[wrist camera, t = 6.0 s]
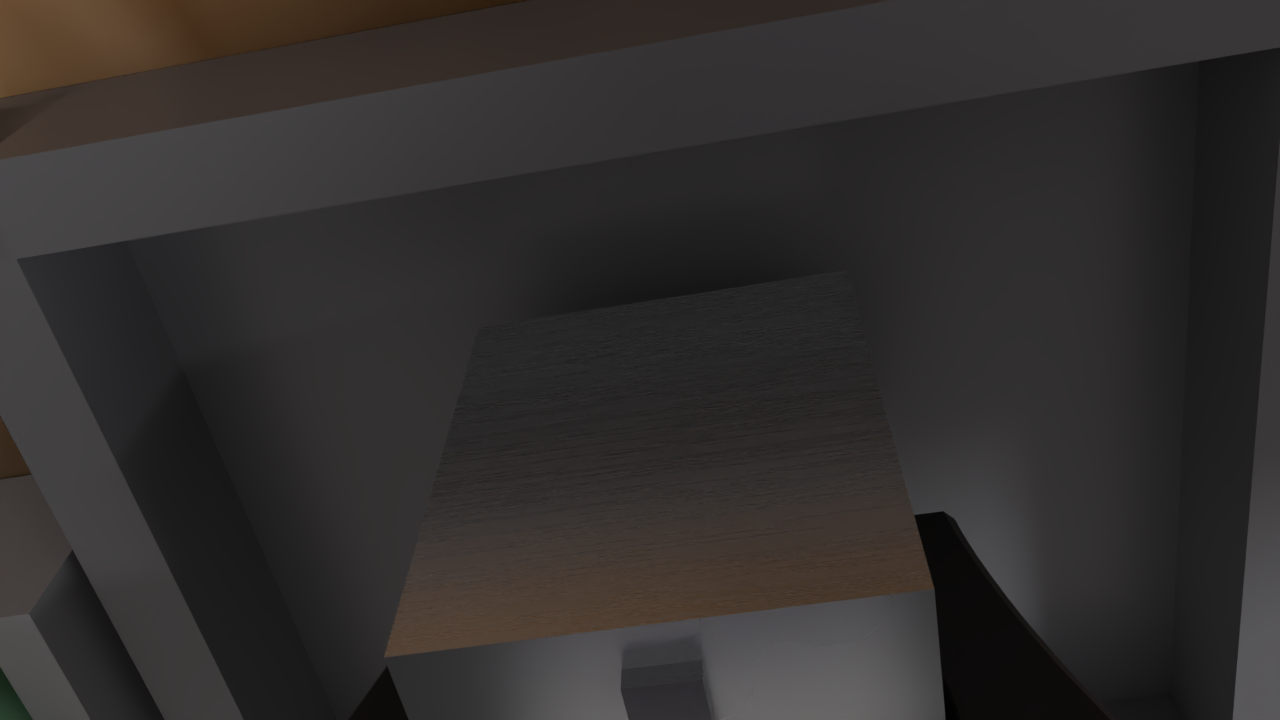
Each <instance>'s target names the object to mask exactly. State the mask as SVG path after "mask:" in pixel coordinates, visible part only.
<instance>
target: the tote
mask: <svg viewBox="0 0 1280 720" xmlns="http://www.w3.org/2000/svg"><path fill="white" fill-rule="evenodd" d="M844 270H846V271H847V274H848V278H849V281H850V285H851V289H852V292H853V296H854V299H855V303H856V307H857V310H858V314H859V318H860V321H861V325H862V328H863V332H864V336H865V339H866V343H867V347H868V350H869V354H870V357H871V361H872V365H873V368H874V372H875V376H876V379H877V383H878V386H879V390H880V394H881V397H882V401H883V405H884V408H885V412H886V415H887V419H888V423H889V426H890V430H891V433H892V437H893V441H894V444H895V448H896V452H897V455H898V459H899V462H900V466H901V470H902V473H903V477H904V481H905V484H906V488H907V491H908V495H909V499H910V502H911V506H912V510H913V513H914V515H917V514H925V513H933V512H941V511H944V512H945V513H947V514H948V515H950V516H951V517H953V518H954V519H955V520H956V522H957V524H958V526H959V528H960V529H961V531H962V533H963V534H964V536H965V538H966V539H967V541H968V542H969V544H970V546H971V547H972V549H973V550H974V552H975V553H976V555H977V556H978V558H979V559H980V561H981V562H982V563H983V565H984V566H985V568H986V569H987V571H988V572H989V573H990V575H991V576H992V577H993V579H994V580H995V581H996V583H997V584H998V585H999V587H1000V588H1001V589H1002V591H1003V592H1004V593H1005V595H1006V596H1007V597H1008V599H1009V600H1010V601H1011V602H1012V604H1013V605H1014V606H1015V608H1016V609H1017V610H1018V611H1019V613H1020V614H1021V615H1022V616H1023V617H1024V619H1025V620H1026V621H1027V622H1028V623H1029V625H1030V626H1031V627H1032V628H1033V629H1034V630H1035V632H1036V633H1037V634H1038V635H1039V636H1040V638H1041V639H1042V640H1043V641H1044V642H1045V643H1046V645H1047V646H1048V647H1049V648H1050V649H1051V651H1052V652H1053V653H1054V654H1055V655H1056V656H1057V658H1058V659H1059V660H1060V661H1061V662H1062V663H1063V664H1064V665H1065V666H1066V667H1067V669H1068V670H1069V671H1070V672H1071V673H1072V674H1073V675H1074V676H1075V677H1076V679H1077V680H1078V681H1079V682H1080V683H1081V684H1082V685H1083V686H1084V687H1085V688H1086V689H1087V690H1088V691H1089V692H1090V693H1091V694H1092V695H1093V696H1094V697H1095V698H1096V699H1097V700H1098V701H1099V702H1100V704H1101V705H1102V706H1103V707H1104V708H1105V709H1106V710H1107V711H1108V712H1109V713H1110V714H1111V715H1112V716H1113V717H1114V718H1115V719H1116V720H1280V0H528V1H523V2H517V3H512V4H507V5H501V6H496V7H491V8H485V9H480V10H474V11H469V12H464V13H458V14H453V15H447V16H442V17H437V18H431V19H426V20H420V21H415V22H410V23H404V24H399V25H393V26H388V27H383V28H377V29H372V30H366V31H361V32H356V33H350V34H345V35H339V36H334V37H329V38H323V39H318V40H312V41H307V42H302V43H296V44H291V45H285V46H280V47H275V48H269V49H264V50H258V51H253V52H248V53H242V54H237V55H231V56H226V57H221V58H215V59H210V60H204V61H199V62H194V63H188V64H183V65H177V66H172V67H167V68H161V69H156V70H150V71H145V72H140V73H134V74H129V75H123V76H118V77H113V78H107V79H102V80H97V81H91V82H86V83H80V84H75V85H70V86H64V87H59V88H53V89H48V90H43V91H37V92H32V93H26V94H21V95H16V96H10V97H5V98H0V416H1V418H2V420H3V422H4V424H5V425H6V427H7V429H8V431H9V433H10V435H11V436H12V438H13V440H14V442H15V444H16V446H17V448H18V449H19V451H20V453H21V455H22V457H23V459H24V461H25V462H26V464H27V466H28V468H29V470H30V472H31V473H32V475H33V477H34V479H35V481H36V483H37V485H38V486H39V488H40V490H41V492H42V494H43V496H44V498H45V499H46V501H47V503H48V505H49V507H50V509H51V511H52V512H53V514H54V516H55V518H56V520H57V522H58V523H59V525H60V527H61V529H62V531H63V533H64V535H65V536H66V538H67V540H68V542H69V544H70V546H71V548H72V549H73V551H74V553H75V555H76V557H77V559H78V560H79V562H80V564H81V566H82V568H83V570H84V572H85V573H86V575H87V577H88V579H89V581H90V583H91V585H92V586H93V588H94V590H95V592H96V594H97V596H98V597H99V599H100V601H101V603H102V605H103V607H104V609H105V610H106V612H107V614H108V616H109V618H110V620H111V622H112V623H113V625H114V627H115V629H116V631H117V633H118V634H119V636H120V638H121V640H122V642H123V644H124V646H125V647H126V649H127V651H128V653H129V655H130V657H131V659H132V660H133V662H134V664H135V666H136V668H137V670H138V671H139V673H140V675H141V677H142V679H143V681H144V683H145V684H146V686H147V688H148V690H149V692H150V694H151V696H152V697H153V699H154V701H155V703H156V705H157V707H158V709H159V710H160V712H161V714H162V716H163V718H164V720H348V718H349V717H350V716H351V714H352V713H353V712H354V710H355V709H356V707H357V706H358V705H359V703H360V702H361V701H362V699H363V698H364V696H365V695H366V694H367V692H368V691H369V690H370V688H371V687H372V685H373V684H374V683H375V681H376V680H377V679H378V677H379V676H380V674H381V673H382V672H383V670H384V669H385V667H386V666H387V664H386V662H385V659H384V655H385V652H386V648H387V645H388V641H389V638H390V634H391V631H392V627H393V624H394V620H395V617H396V613H397V610H398V606H399V603H400V600H401V596H402V593H403V589H404V586H405V582H406V579H407V575H408V572H409V568H410V565H411V561H412V558H413V554H414V551H415V547H416V544H417V540H418V537H419V533H420V530H421V526H422V523H423V519H424V516H425V512H426V509H427V505H428V502H429V498H430V495H431V491H432V488H433V485H434V481H435V478H436V474H437V471H438V467H439V464H440V460H441V457H442V453H443V450H444V446H445V443H446V439H447V436H448V432H449V429H450V425H451V422H452V418H453V415H454V411H455V408H456V404H457V401H458V397H459V394H460V390H461V387H462V383H463V380H464V376H465V373H466V369H467V366H468V363H469V359H470V356H471V352H472V349H473V345H474V342H475V338H476V335H477V331H478V328H479V327H484V326H490V325H497V324H503V323H510V322H516V321H522V320H529V319H535V318H542V317H548V316H555V315H561V314H568V313H574V312H580V311H587V310H593V309H600V308H606V307H613V306H619V305H625V304H632V303H638V302H645V301H651V300H658V299H664V298H670V297H677V296H683V295H690V294H696V293H703V292H709V291H715V290H722V289H728V288H735V287H741V286H748V285H754V284H761V283H767V282H773V281H780V280H786V279H793V278H799V277H806V276H812V275H818V274H825V273H831V272H838V271H844Z"/></svg>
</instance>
